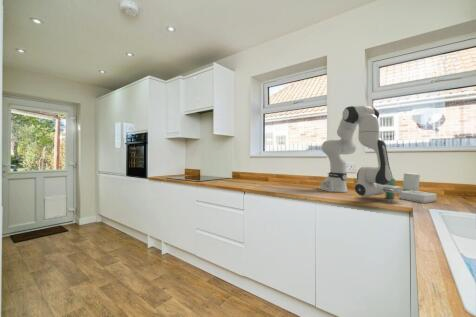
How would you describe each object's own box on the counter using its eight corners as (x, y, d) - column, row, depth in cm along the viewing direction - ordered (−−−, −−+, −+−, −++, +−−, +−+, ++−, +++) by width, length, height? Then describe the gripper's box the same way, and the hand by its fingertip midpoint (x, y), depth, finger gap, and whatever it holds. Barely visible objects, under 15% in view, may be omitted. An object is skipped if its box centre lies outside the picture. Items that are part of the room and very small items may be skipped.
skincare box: (402, 194, 162) (402, 173, 162) (404, 193, 167) (405, 172, 166) (416, 196, 156) (417, 174, 155) (419, 195, 160) (419, 173, 160)
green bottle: (383, 197, 151) (384, 175, 150) (388, 197, 153) (389, 174, 152) (391, 199, 146) (392, 176, 146) (396, 198, 148) (396, 175, 148)
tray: (399, 198, 149) (399, 191, 149) (411, 196, 155) (411, 190, 155) (424, 202, 136) (424, 195, 136) (436, 201, 142) (436, 193, 142)
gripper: (393, 185, 134) (407, 184, 140) (361, 181, 152) (375, 180, 158) (393, 196, 134) (407, 194, 140) (361, 190, 152) (374, 189, 158)
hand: (389, 186), depth 149 cm, fingers open, 8 cm apart
